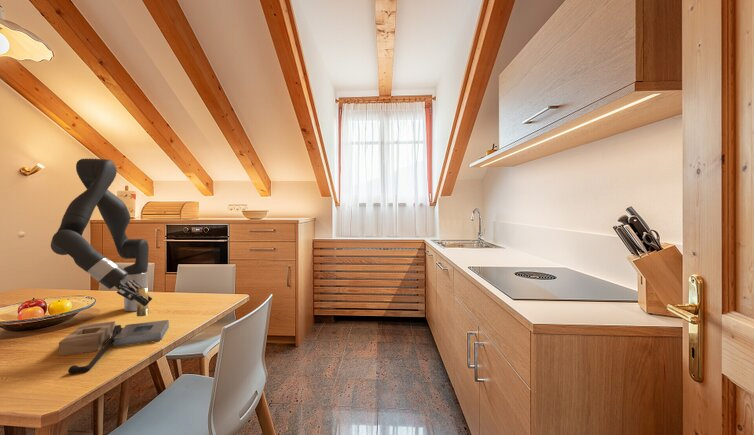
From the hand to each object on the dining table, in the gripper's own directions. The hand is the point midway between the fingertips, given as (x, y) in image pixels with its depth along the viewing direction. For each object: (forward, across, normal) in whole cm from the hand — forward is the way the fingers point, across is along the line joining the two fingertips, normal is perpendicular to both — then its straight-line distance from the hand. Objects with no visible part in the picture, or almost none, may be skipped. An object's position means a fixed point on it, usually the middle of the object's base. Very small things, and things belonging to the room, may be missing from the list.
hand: (148, 302), depth 122 cm
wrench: (+1, -10, +18) cm, 20 cm away
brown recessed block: (-4, 0, +22) cm, 22 cm away
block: (+8, 0, +10) cm, 13 cm away
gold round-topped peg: (+2, 0, +5) cm, 5 cm away
